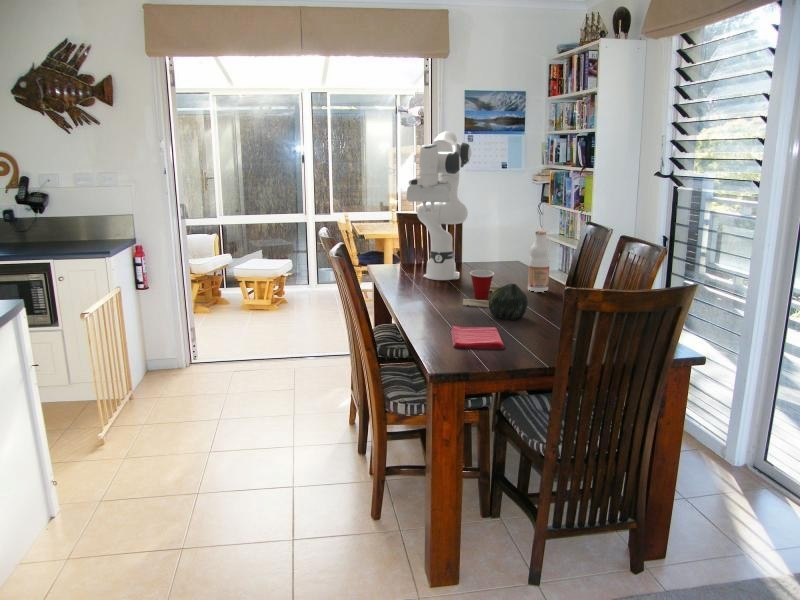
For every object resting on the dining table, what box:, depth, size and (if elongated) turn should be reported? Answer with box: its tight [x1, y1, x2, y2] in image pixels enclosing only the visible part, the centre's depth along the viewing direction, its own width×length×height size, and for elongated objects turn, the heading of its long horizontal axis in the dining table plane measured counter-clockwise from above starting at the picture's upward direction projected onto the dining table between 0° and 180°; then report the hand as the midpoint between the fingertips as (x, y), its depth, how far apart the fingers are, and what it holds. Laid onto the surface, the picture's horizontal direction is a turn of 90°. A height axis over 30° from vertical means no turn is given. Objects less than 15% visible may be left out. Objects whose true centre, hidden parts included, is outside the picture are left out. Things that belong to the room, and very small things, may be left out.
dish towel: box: [451, 325, 505, 350], centre depth 225 cm, size 17×24×3 cm
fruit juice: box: [527, 230, 551, 293], centre depth 299 cm, size 9×9×28 cm
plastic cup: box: [469, 269, 495, 301], centre depth 285 cm, size 11×11×12 cm
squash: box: [488, 283, 529, 321], centre depth 251 cm, size 14×15×15 cm
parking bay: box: [462, 285, 501, 308], centre depth 285 cm, size 31×18×2 cm, turn 162°
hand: (428, 212), depth 292 cm, fingers closed
